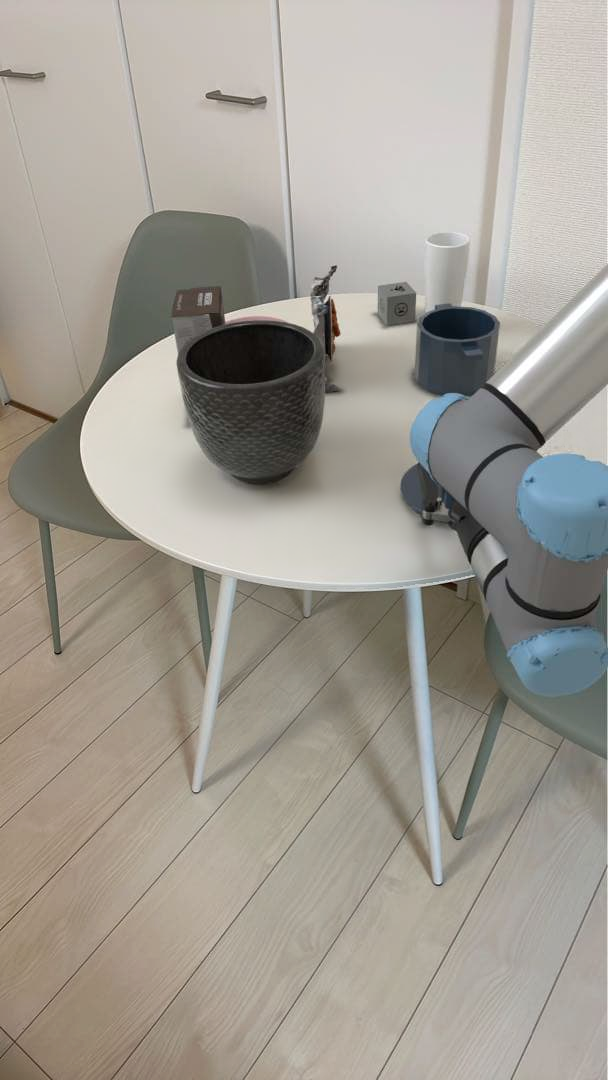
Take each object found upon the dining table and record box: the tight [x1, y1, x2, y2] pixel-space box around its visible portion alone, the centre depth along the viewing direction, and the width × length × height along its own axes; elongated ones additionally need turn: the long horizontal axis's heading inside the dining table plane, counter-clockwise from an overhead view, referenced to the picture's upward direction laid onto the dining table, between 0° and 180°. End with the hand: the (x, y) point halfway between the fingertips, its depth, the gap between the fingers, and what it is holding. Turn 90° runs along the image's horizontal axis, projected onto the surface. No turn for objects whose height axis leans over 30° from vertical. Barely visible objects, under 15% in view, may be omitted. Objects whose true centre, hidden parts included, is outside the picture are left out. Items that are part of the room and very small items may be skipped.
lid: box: [399, 462, 454, 516], centre depth 87 cm, size 12×12×10 cm
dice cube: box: [377, 281, 417, 327], centre depth 127 cm, size 5×5×5 cm
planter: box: [176, 320, 326, 485], centre depth 92 cm, size 17×17×16 cm
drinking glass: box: [423, 231, 471, 314], centre depth 118 cm, size 7×7×15 cm
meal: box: [310, 265, 342, 393], centre depth 112 cm, size 15×4×13 cm, turn 0°
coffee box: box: [170, 285, 226, 355], centre depth 104 cm, size 9×6×16 cm
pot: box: [414, 303, 501, 397], centre depth 109 cm, size 11×17×8 cm
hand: (443, 422), depth 90 cm, fingers closed on lid, 3 cm apart
